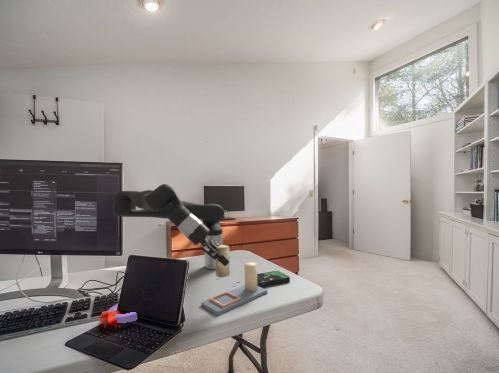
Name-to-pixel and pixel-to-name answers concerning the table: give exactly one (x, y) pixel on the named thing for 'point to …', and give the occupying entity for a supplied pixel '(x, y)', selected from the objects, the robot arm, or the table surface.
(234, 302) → the base plate
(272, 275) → the disk drive
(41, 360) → the table surface
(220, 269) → the maple column
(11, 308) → the table surface
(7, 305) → the table surface
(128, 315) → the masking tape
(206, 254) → the robot arm
